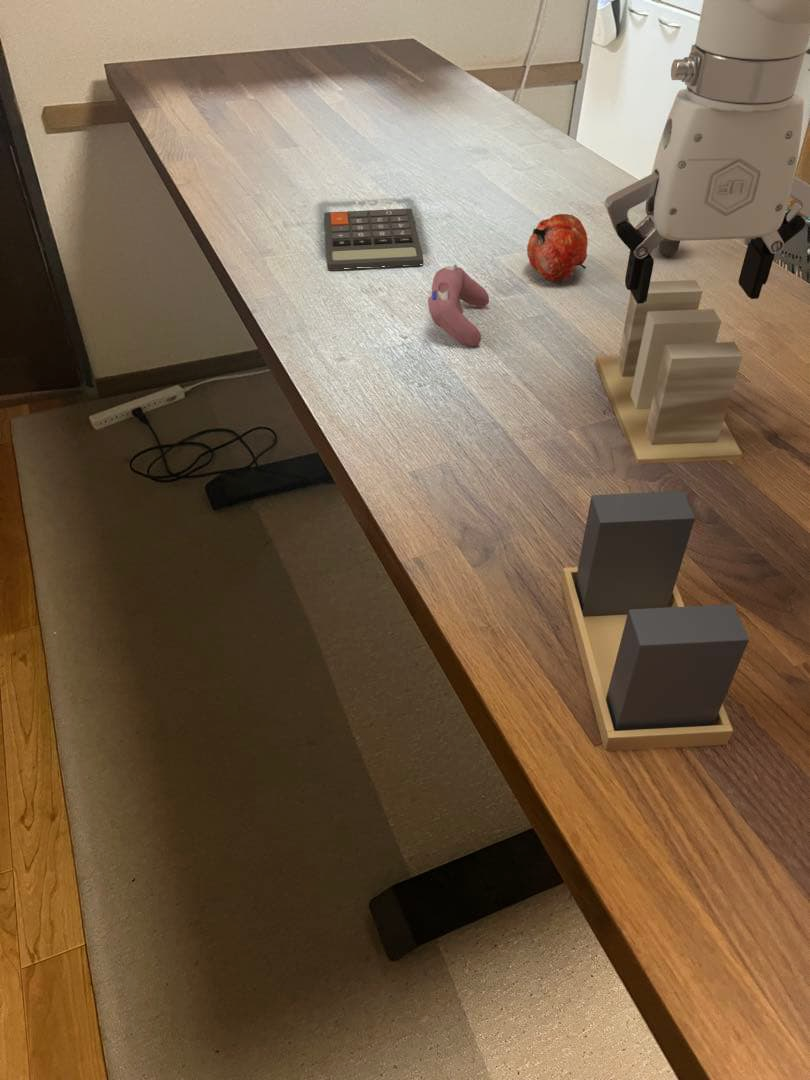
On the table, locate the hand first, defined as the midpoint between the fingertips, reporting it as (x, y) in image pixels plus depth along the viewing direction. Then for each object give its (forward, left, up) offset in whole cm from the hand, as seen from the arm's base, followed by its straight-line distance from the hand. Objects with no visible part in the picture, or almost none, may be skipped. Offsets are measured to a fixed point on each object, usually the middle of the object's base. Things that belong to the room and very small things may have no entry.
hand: (692, 293), depth 74 cm
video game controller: (+25, -5, -13) cm, 28 cm away
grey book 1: (-5, +26, -12) cm, 29 cm away
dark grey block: (-10, +34, -12) cm, 38 cm away
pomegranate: (+20, -21, -13) cm, 31 cm away
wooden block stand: (0, 0, -12) cm, 12 cm away
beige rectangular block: (0, 0, -11) cm, 11 cm away
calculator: (+44, -18, -12) cm, 49 cm away
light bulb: (+10, -32, -13) cm, 36 cm away
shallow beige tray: (-7, +30, -12) cm, 33 cm away
